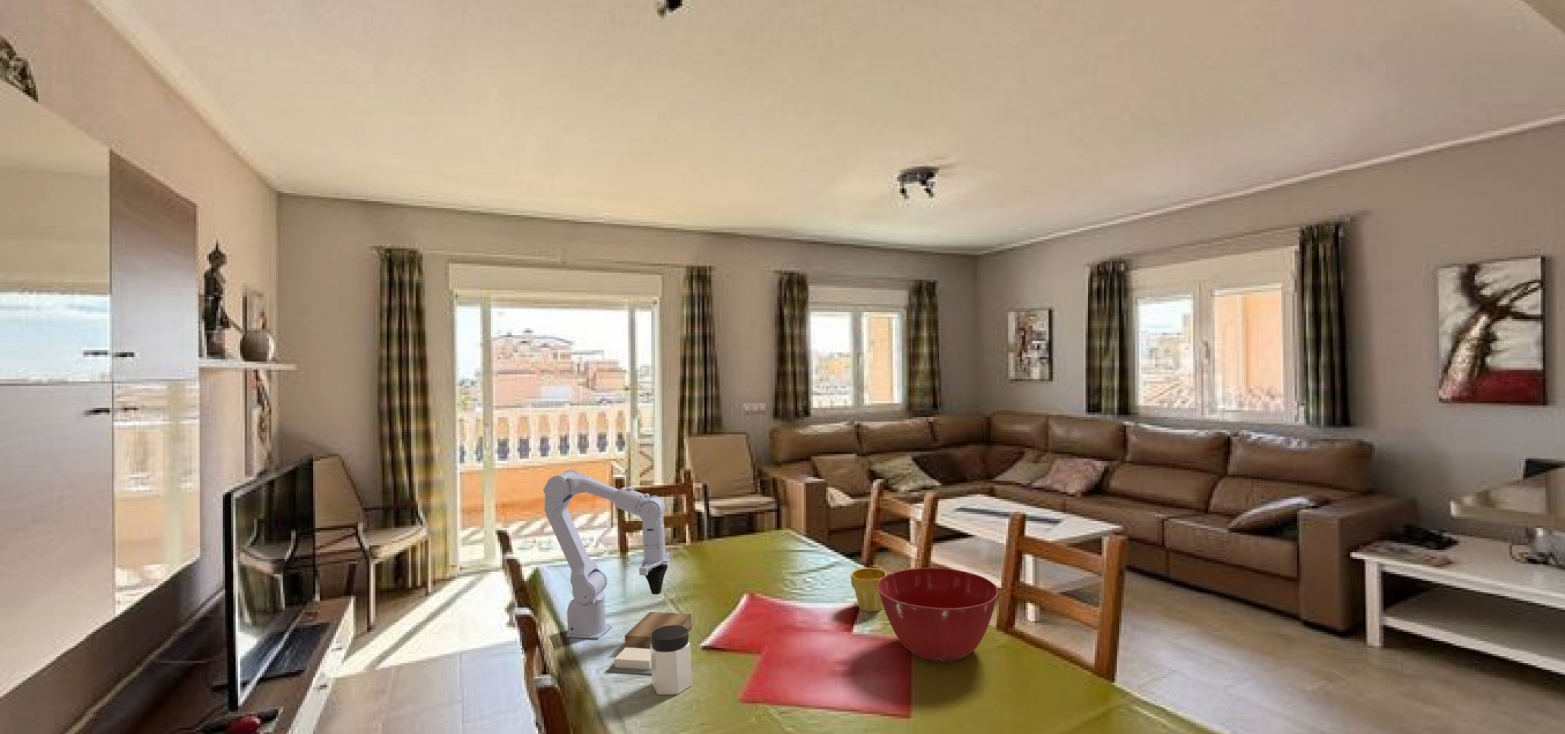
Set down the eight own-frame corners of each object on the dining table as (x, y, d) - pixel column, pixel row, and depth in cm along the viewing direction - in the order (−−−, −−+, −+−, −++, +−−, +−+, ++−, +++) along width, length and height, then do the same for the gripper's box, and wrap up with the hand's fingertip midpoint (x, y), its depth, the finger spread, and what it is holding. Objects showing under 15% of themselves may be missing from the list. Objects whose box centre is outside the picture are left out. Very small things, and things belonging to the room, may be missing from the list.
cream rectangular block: (625, 647, 157) (626, 655, 157) (614, 658, 151) (614, 667, 151) (659, 649, 155) (660, 657, 155) (649, 660, 149) (649, 669, 149)
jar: (696, 689, 139) (693, 635, 139) (659, 699, 136) (656, 644, 136) (684, 672, 147) (681, 621, 147) (649, 681, 144) (646, 629, 144)
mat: (607, 671, 149) (606, 670, 149) (626, 652, 159) (626, 651, 159) (654, 675, 147) (654, 673, 147) (671, 655, 157) (671, 653, 157)
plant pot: (847, 612, 178) (846, 577, 178) (857, 599, 188) (856, 566, 187) (884, 616, 174) (882, 581, 174) (892, 602, 184) (890, 569, 184)
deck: (625, 651, 160) (624, 635, 160) (650, 626, 174) (649, 611, 174) (670, 654, 157) (669, 637, 157) (691, 628, 172) (691, 613, 172)
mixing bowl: (921, 615, 174) (918, 559, 174) (1022, 645, 154) (1019, 581, 153) (856, 651, 154) (853, 588, 154) (962, 691, 134) (959, 619, 134)
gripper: (656, 551, 162) (658, 604, 163) (678, 535, 177) (680, 584, 177) (630, 550, 164) (633, 603, 164) (655, 535, 178) (657, 583, 178)
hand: (656, 593), depth 171 cm, fingers closed
